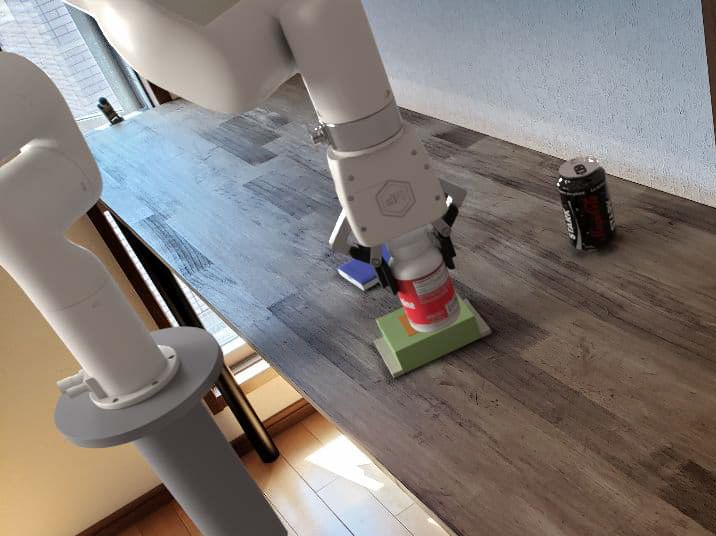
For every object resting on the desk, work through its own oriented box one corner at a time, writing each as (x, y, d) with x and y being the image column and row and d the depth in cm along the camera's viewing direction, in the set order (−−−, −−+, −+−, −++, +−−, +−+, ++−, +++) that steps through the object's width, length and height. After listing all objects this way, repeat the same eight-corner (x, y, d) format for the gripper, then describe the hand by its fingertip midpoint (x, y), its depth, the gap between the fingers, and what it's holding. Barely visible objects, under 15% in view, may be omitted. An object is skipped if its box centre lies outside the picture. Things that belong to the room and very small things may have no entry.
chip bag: (394, 378, 107) (384, 356, 105) (375, 344, 114) (365, 323, 112) (491, 333, 110) (484, 310, 107) (467, 302, 116) (460, 280, 114)
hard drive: (401, 228, 134) (336, 266, 129) (428, 243, 128) (361, 283, 124) (405, 236, 135) (340, 275, 130) (432, 251, 129) (365, 292, 125)
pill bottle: (406, 314, 99) (374, 234, 92) (454, 296, 100) (426, 215, 93) (417, 341, 95) (384, 259, 88) (467, 322, 95) (439, 238, 88)
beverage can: (578, 261, 118) (560, 184, 110) (566, 239, 123) (548, 164, 115) (624, 246, 118) (610, 168, 110) (610, 224, 123) (595, 149, 115)
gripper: (287, 171, 78) (358, 324, 89) (456, 103, 81) (502, 259, 92) (273, 146, 83) (341, 293, 95) (431, 83, 86) (478, 233, 98)
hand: (420, 275), depth 94 cm, fingers closed on pill bottle, 6 cm apart
